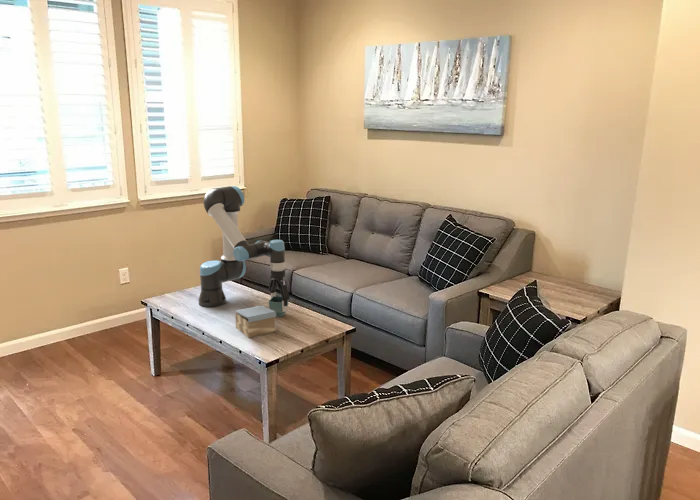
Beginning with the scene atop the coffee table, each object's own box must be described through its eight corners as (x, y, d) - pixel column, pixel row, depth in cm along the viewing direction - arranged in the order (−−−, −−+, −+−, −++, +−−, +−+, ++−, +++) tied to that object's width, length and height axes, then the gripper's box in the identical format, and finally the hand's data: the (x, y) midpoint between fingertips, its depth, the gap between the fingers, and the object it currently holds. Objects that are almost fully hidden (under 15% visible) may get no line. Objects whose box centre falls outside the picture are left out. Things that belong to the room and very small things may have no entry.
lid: (235, 315, 281) (234, 310, 281) (261, 309, 289) (261, 305, 289) (248, 322, 267) (248, 317, 267) (276, 316, 275) (275, 311, 274)
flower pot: (284, 318, 295) (284, 302, 293) (268, 317, 297) (267, 301, 295) (289, 313, 304) (289, 297, 301) (273, 311, 305) (273, 296, 303)
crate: (236, 327, 283) (235, 312, 281) (261, 321, 291) (261, 307, 289) (248, 338, 270) (248, 322, 268) (275, 332, 278) (274, 316, 276)
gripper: (261, 265, 302) (262, 302, 307) (282, 276, 282) (283, 316, 287) (273, 263, 306) (275, 300, 311) (295, 273, 286) (296, 313, 291)
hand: (279, 307), depth 299 cm, fingers open, 13 cm apart
